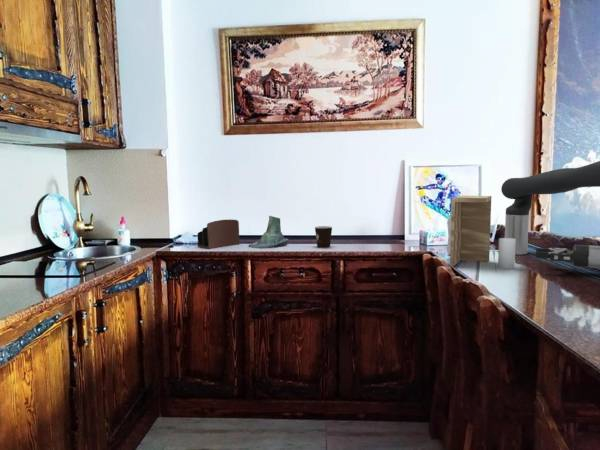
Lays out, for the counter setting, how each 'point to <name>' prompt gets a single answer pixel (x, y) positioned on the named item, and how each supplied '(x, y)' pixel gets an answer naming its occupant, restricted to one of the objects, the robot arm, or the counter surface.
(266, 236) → the tree stump
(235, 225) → the letter holder
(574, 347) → the counter surface
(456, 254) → the cubby
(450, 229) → the plastic bottle
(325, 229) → the coffee mug
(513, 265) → the white upright cylinder
